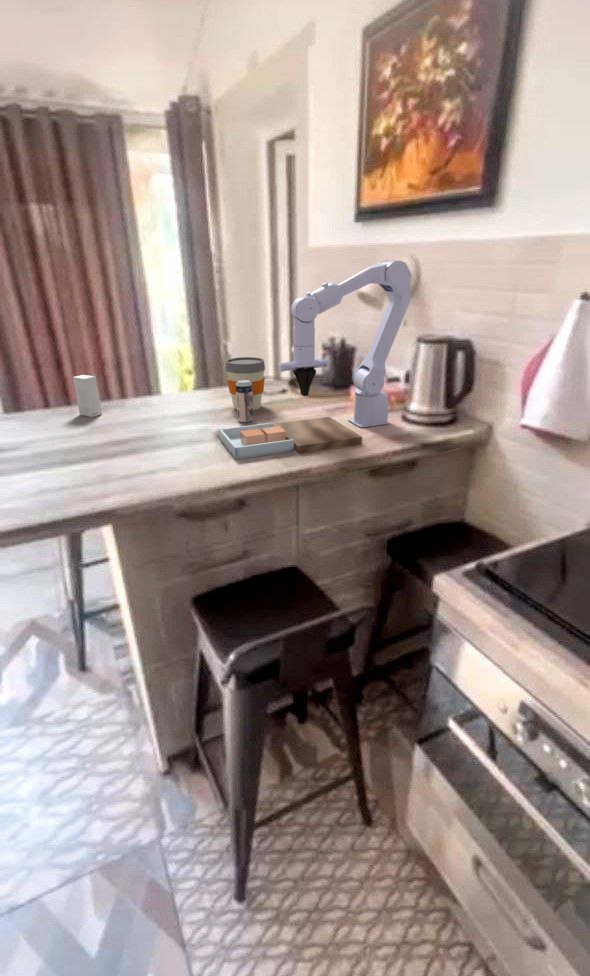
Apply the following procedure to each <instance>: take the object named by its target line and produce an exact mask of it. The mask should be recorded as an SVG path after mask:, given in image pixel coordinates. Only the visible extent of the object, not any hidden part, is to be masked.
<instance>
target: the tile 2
mask: <svg viewBox="0 0 590 976" xmlns="http://www.w3.org/2000/svg"><path fill="white" fill-rule="evenodd" d="M261 431H262V432H263V433H264V434H265V443H269V442H276V441H284V440H286V431H285V430H283V429H282V428H281V427H280V426H276V427H268V428H261Z"/></svg>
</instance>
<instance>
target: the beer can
mask: <svg viewBox="0 0 590 976" xmlns="http://www.w3.org/2000/svg"><path fill="white" fill-rule="evenodd" d="M236 399H237V410H236V412H237V413H236V414H237V421H238V422H240V423H243V422H248V423H251V422H252V421H253V420H254V417H255V415H254V410H253V391H252V383H251V381H250V380H238V381H237V383H236ZM250 421H251V422H250Z"/></svg>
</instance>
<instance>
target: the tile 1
mask: <svg viewBox="0 0 590 976" xmlns="http://www.w3.org/2000/svg"><path fill="white" fill-rule="evenodd" d="M240 439H241V443H242V444H243V445H244V446H247V445H254V444H262V443H265V434H264V433H263V432H261V431H260V430H259V429H252V430H245V431H240Z"/></svg>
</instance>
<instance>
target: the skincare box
mask: <svg viewBox="0 0 590 976" xmlns="http://www.w3.org/2000/svg"><path fill="white" fill-rule="evenodd" d="M72 380H73V386H74V390H75V396H76V402H77V403H76V404H77V408H78V412H79V415H80V416H85V417H89V418H93V417H94V418H95V417H97V416H101V415H103V411H102V410H103V409H102V405H101V399H100V393H99V389H98V388H99V387H98V381H97V377H96V376H95V375H88V374H87V375H86V374H81V375H76V376H73V377H72Z"/></svg>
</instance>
